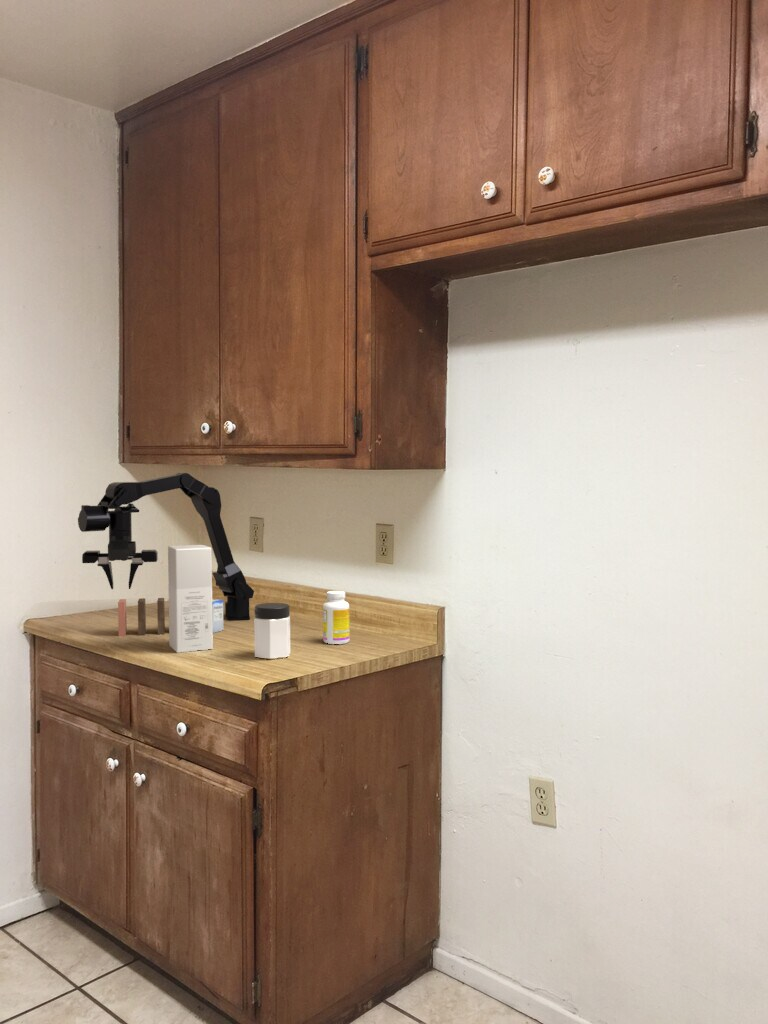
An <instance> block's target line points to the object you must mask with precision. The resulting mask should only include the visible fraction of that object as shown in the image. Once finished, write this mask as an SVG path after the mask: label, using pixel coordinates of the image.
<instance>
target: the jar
mask: <svg viewBox="0 0 768 1024" xmlns="http://www.w3.org/2000/svg"><path fill="white" fill-rule="evenodd" d="M290 608H291V607H290V604H288V603H282V602H266V603H265V602H264V603H259V604H256V605H255V606H254V619H253V621H254V622H253V623H254V631H253V633H254V658H255V657H264V658H278V657H287V656H289V657H290V655H291V615H290V613H291V612H290ZM289 654H290V655H289Z"/></svg>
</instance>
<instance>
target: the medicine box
mask: <svg viewBox="0 0 768 1024" xmlns="http://www.w3.org/2000/svg"><path fill="white" fill-rule="evenodd" d="M212 617H213V634H216V633H215V632H217V633H219V632H218V631H221V632H223V631H224V600H223V599H219V598H217V599H216V598H212ZM222 630H223V631H222Z"/></svg>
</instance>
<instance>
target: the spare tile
mask: <svg viewBox="0 0 768 1024" xmlns="http://www.w3.org/2000/svg"><path fill="white" fill-rule="evenodd" d="M117 619H118V623H117V624H118V626H117V627H118V637H125V636H126V635H127V632H128V631H127V599H126V598H122V599H121V598H120V599H119V600H118V602H117Z"/></svg>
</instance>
